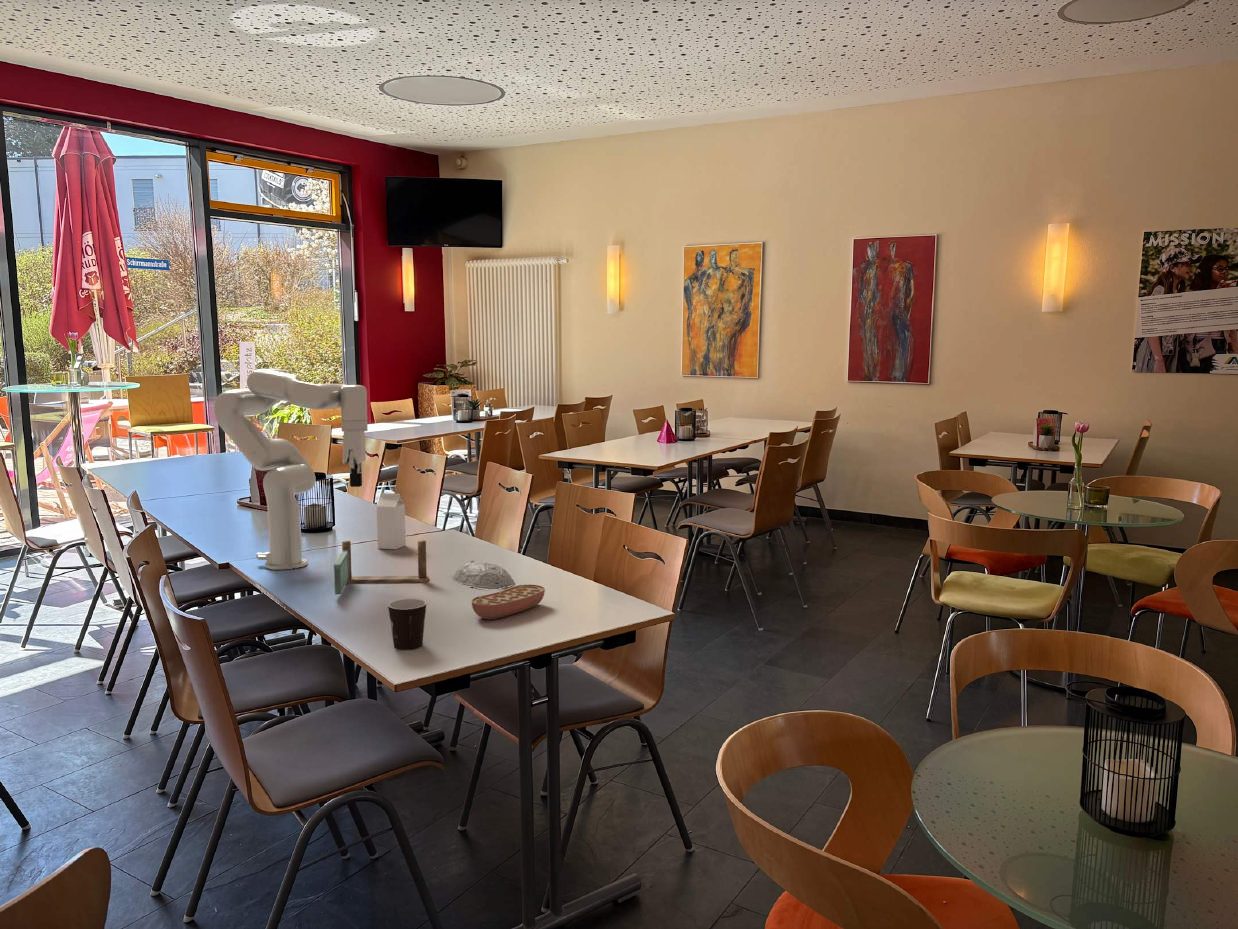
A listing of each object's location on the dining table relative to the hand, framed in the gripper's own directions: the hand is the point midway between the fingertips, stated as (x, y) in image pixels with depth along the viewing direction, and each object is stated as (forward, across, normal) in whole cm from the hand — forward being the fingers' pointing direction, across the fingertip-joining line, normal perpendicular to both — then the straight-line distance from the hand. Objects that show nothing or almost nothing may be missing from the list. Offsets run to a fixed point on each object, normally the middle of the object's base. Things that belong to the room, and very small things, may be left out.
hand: (356, 486), depth 263 cm
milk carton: (+27, -36, +3) cm, 45 cm away
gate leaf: (+25, +21, 0) cm, 33 cm away
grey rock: (+28, +10, +39) cm, 49 cm away
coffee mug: (+27, +70, +27) cm, 80 cm away
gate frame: (+27, +10, +10) cm, 30 cm away
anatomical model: (+27, +43, +49) cm, 71 cm away
